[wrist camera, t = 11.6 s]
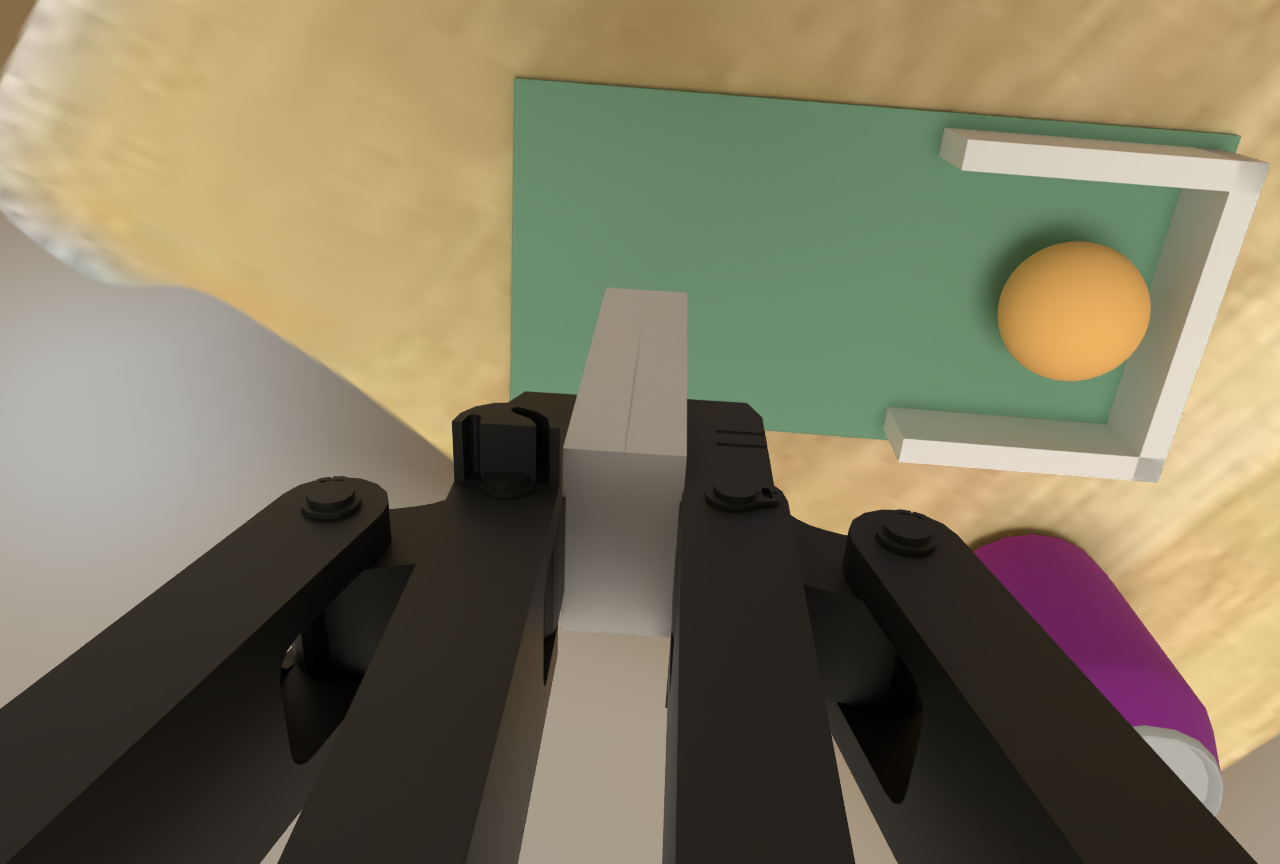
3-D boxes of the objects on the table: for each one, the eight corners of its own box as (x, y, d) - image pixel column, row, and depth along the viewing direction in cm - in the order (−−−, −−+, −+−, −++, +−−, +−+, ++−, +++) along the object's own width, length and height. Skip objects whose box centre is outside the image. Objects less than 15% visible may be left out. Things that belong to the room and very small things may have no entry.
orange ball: (1198, 250, 32) (1088, 245, 30) (1167, 393, 33) (1060, 397, 31) (1081, 238, 36) (979, 233, 34) (1057, 364, 37) (959, 367, 35)
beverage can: (899, 637, 44) (974, 852, 33) (974, 502, 40) (1084, 690, 29) (1048, 681, 44) (1168, 904, 33) (1132, 551, 41) (1297, 752, 30)
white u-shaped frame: (1222, 149, 33) (1270, 163, 31) (1123, 447, 38) (1157, 482, 36) (944, 127, 33) (968, 139, 31) (883, 428, 38) (898, 461, 36)
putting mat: (1234, 134, 33) (1240, 136, 33) (1127, 455, 39) (1132, 459, 39) (516, 77, 34) (514, 78, 33) (511, 406, 39) (510, 410, 39)
